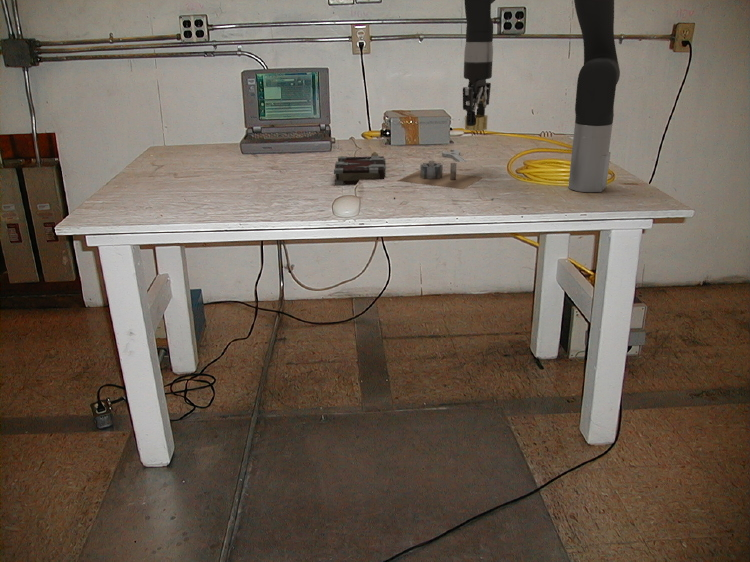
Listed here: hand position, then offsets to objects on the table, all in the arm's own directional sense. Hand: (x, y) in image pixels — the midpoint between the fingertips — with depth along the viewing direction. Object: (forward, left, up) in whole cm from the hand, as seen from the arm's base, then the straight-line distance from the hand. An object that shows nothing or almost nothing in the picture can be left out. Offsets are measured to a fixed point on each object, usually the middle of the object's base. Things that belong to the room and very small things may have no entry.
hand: (475, 123), depth 172 cm
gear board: (+6, +9, -16) cm, 19 cm away
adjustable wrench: (+14, -20, -16) cm, 29 cm away
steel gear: (+9, +8, -14) cm, 19 cm away
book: (+32, +9, -16) cm, 37 cm away
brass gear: (0, 0, -1) cm, 1 cm away
